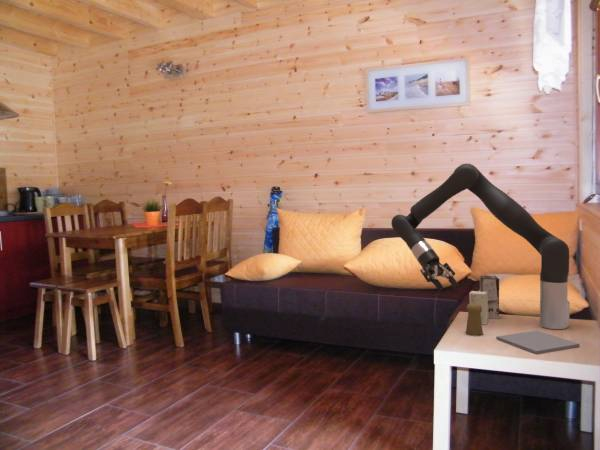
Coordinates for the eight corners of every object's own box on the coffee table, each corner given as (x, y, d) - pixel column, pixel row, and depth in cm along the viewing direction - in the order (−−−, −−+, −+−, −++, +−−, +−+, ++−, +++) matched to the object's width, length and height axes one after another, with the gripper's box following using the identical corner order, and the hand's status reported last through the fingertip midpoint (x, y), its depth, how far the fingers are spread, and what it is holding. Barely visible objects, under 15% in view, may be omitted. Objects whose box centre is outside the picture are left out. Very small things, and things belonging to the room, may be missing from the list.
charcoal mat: (536, 333, 186) (536, 330, 186) (579, 346, 169) (579, 343, 169) (496, 339, 180) (496, 336, 180) (536, 354, 163) (536, 351, 163)
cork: (474, 336, 183) (474, 306, 183) (462, 332, 189) (461, 303, 188) (486, 334, 186) (486, 304, 185) (474, 330, 192) (474, 301, 191)
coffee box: (499, 319, 207) (499, 279, 206) (482, 318, 208) (482, 278, 207) (495, 313, 216) (495, 275, 215) (479, 313, 217) (479, 275, 216)
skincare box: (488, 322, 202) (488, 291, 201) (485, 325, 198) (485, 293, 197) (472, 320, 205) (471, 290, 204) (469, 323, 201) (469, 292, 201)
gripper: (417, 250, 198) (442, 284, 189) (442, 247, 206) (466, 279, 197) (407, 262, 202) (430, 296, 194) (432, 259, 211) (455, 291, 202)
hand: (448, 287), depth 196 cm, fingers open, 8 cm apart
